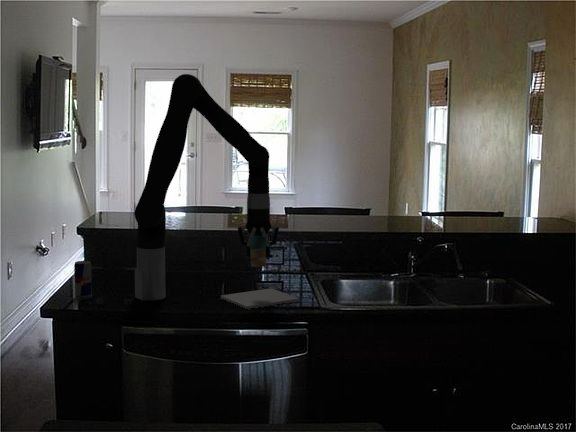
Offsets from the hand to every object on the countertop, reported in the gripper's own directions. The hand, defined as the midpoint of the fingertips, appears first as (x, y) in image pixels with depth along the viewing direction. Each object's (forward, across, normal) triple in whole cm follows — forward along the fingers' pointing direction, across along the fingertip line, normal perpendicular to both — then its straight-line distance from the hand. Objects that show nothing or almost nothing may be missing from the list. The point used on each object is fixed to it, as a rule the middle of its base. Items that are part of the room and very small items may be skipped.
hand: (258, 257), depth 268 cm
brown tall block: (+2, 0, +5) cm, 5 cm away
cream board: (+14, 0, -3) cm, 14 cm away
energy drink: (+14, -58, -2) cm, 60 cm away
